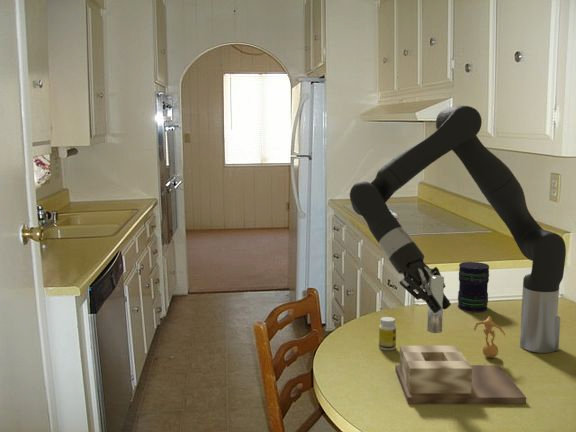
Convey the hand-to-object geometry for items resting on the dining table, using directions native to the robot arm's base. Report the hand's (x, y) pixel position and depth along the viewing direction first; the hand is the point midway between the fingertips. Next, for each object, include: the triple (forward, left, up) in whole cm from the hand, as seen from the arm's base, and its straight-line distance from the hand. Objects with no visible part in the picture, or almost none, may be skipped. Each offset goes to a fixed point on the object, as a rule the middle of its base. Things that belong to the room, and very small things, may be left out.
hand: (442, 308), depth 137 cm
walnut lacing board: (-4, -1, -20) cm, 20 cm away
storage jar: (-25, -63, -20) cm, 70 cm away
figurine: (-17, -18, -20) cm, 32 cm away
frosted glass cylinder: (+1, -1, -6) cm, 6 cm away
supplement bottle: (+9, -26, -20) cm, 34 cm away
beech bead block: (+1, -1, -18) cm, 18 cm away
